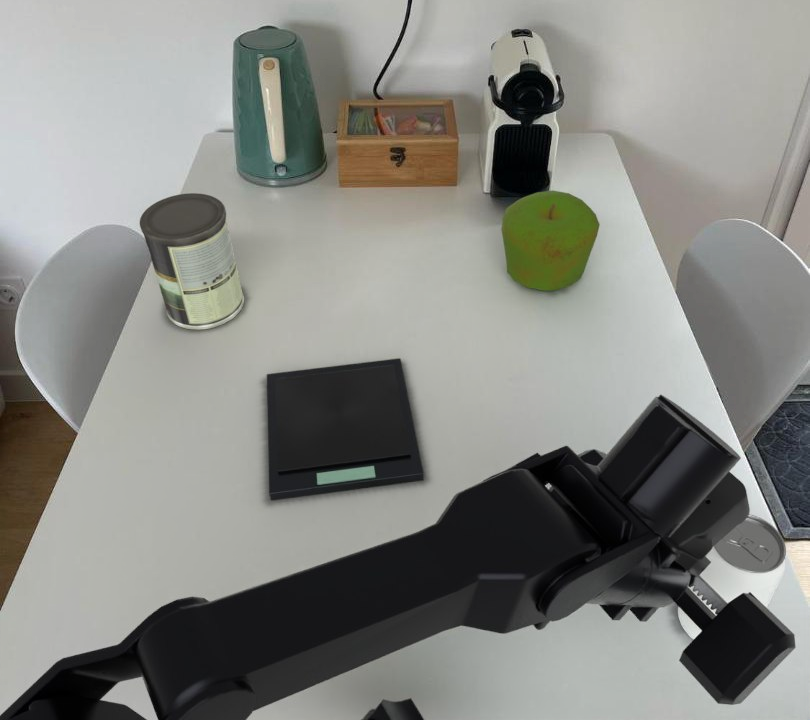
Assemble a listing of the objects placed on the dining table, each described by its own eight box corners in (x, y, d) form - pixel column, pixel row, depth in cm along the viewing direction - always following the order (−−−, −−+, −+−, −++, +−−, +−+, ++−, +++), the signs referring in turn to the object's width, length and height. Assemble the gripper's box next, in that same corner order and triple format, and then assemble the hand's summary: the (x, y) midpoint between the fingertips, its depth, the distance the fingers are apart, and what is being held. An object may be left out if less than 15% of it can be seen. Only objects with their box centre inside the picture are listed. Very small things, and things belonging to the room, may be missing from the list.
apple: (513, 242, 116) (518, 172, 108) (599, 258, 112) (610, 187, 105) (487, 293, 108) (491, 221, 100) (579, 312, 104) (589, 239, 96)
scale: (424, 480, 85) (423, 471, 84) (270, 501, 84) (268, 491, 82) (400, 365, 98) (400, 355, 97) (268, 381, 97) (266, 371, 96)
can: (700, 575, 75) (731, 495, 67) (766, 619, 72) (807, 540, 64) (662, 620, 72) (689, 542, 64) (728, 669, 69) (766, 593, 61)
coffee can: (153, 326, 105) (124, 234, 95) (185, 278, 112) (161, 189, 103) (228, 334, 103) (206, 242, 94) (255, 286, 111) (237, 196, 101)
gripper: (824, 575, 43) (883, 589, 54) (591, 371, 55) (679, 418, 66) (685, 718, 46) (769, 703, 57) (492, 493, 58) (593, 518, 69)
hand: (699, 573), depth 62 cm, fingers open, 9 cm apart
